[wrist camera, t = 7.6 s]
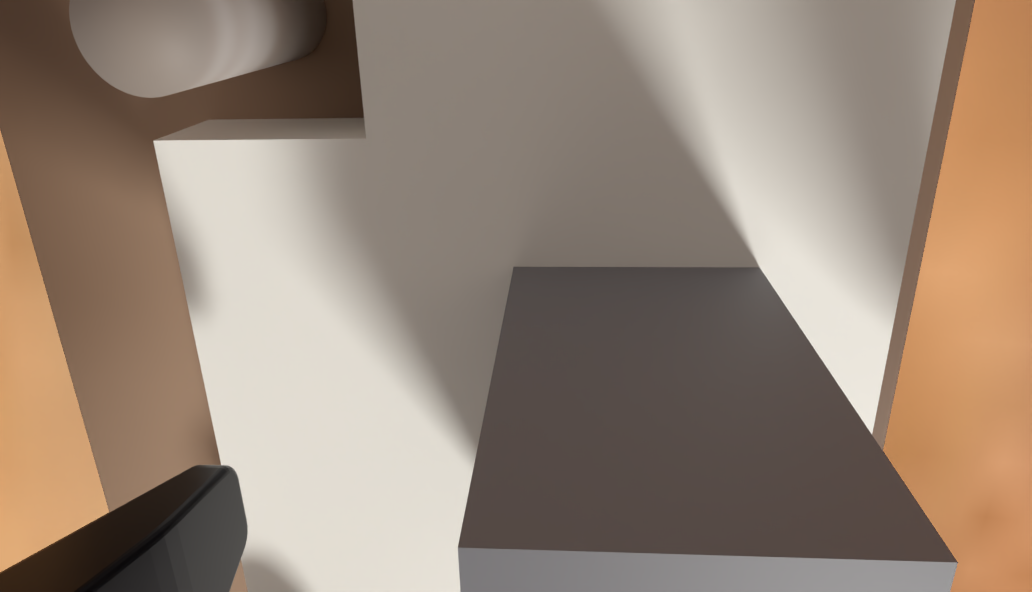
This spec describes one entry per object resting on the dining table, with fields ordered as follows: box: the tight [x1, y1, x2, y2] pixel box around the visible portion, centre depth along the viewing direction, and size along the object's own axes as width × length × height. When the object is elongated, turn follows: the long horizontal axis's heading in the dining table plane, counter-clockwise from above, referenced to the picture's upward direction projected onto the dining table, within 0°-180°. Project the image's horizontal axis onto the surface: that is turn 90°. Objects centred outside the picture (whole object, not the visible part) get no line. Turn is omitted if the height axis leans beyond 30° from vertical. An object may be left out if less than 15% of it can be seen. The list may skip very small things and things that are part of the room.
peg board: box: [0, 0, 975, 592], centre depth 11 cm, size 13×22×6 cm, turn 1°
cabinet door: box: [153, 0, 958, 592], centre depth 8 cm, size 9×16×6 cm, turn 1°
